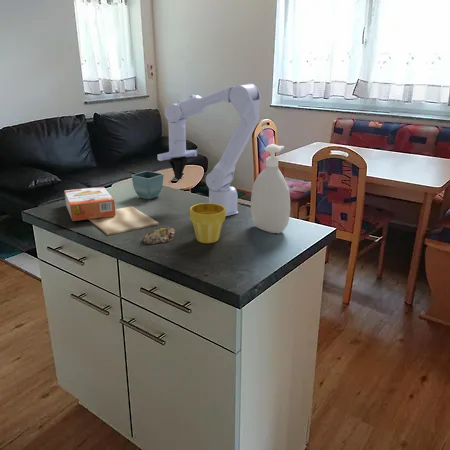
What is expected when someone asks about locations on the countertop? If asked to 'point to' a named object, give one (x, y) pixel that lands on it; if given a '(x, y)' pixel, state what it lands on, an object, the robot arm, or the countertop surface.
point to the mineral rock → (159, 236)
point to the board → (123, 221)
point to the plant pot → (207, 221)
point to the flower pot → (147, 184)
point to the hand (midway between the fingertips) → (178, 178)
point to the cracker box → (89, 203)
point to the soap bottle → (271, 196)
